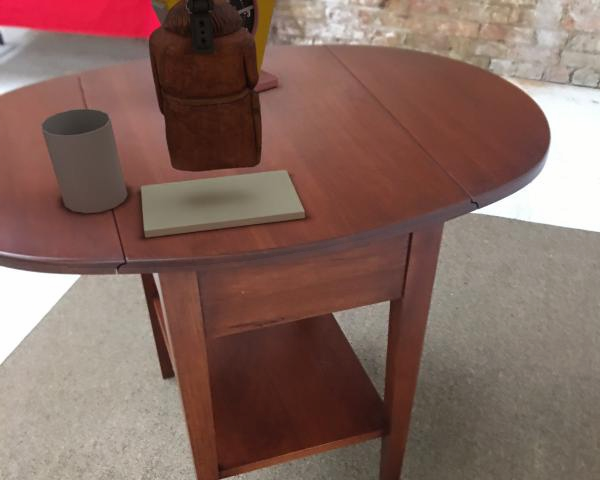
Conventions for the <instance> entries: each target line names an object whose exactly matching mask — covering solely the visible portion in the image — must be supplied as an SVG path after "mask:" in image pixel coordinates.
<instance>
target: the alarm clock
mask: <svg viewBox="0 0 600 480" xmlns="http://www.w3.org/2000/svg"><path fill="white" fill-rule="evenodd" d="M179 1H180V0H150V5H151V7H152V9H153V11H154V13H155V16H156V18H157V20H158V22H159V24H160V26H162V25H163V22H164V20H165V17H166V16H167V14H168V12H169V10H170V9H171V8H172V7H173V6H174V5H175V4H176V3H177V2H179ZM225 1H227V2H229V3H230V4H231V5H232V6H233V7H234V8H235V9H236V10H237V11H238V13H239V14H240V16H241V17H242V20H243V23H242V27H243V28H245V29H246V30H247V31H249V33H250V34H251V35H252V36H253V38H254V40H255V43H256V53H257V68H258V74H259V80H258V84H257V85H256V87H255V88H254V90H255V91H256V92H257V93H259V92H263V91H267V90H270V89H273V88H276V87H278V85H279V77H278V76H276V75H275V74H272V73H270V72H267V71H265V70H263V69H262V65H263V61H264V57H265V52H266V47H267V42H268V38H269V32H270V28H271V24H272V19H273V14H274V10H275V5H276V0H225Z"/></svg>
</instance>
